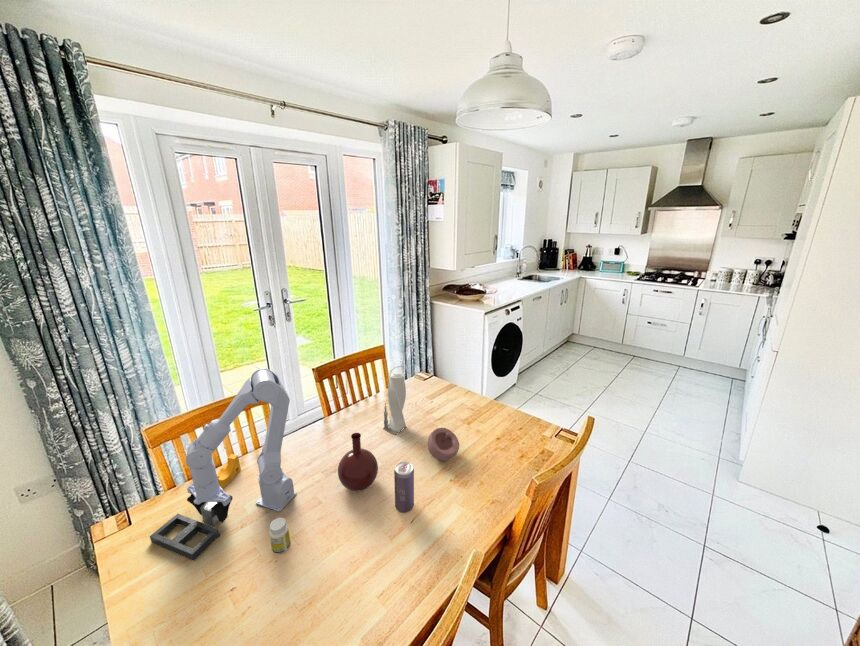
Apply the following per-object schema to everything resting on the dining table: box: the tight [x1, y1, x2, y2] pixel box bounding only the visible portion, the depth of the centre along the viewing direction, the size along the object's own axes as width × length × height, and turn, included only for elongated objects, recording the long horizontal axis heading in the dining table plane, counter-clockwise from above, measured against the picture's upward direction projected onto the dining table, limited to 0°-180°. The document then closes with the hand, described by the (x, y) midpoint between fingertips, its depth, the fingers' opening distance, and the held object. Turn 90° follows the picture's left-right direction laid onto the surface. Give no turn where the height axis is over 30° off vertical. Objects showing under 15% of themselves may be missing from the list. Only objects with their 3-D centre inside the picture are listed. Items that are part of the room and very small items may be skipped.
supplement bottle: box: [269, 517, 292, 555], centre depth 94 cm, size 5×5×8 cm
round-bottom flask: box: [337, 432, 379, 492], centre depth 114 cm, size 13×13×20 cm
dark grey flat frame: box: [149, 513, 221, 562], centre depth 97 cm, size 16×8×2 cm, turn 71°
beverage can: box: [393, 461, 415, 514], centre depth 107 cm, size 6×6×15 cm
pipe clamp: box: [216, 453, 242, 490], centre depth 117 cm, size 12×4×6 cm, turn 171°
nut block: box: [200, 502, 221, 528], centre depth 103 cm, size 4×4×6 cm
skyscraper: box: [382, 365, 407, 436], centre depth 144 cm, size 8×8×28 cm
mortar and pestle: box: [426, 427, 460, 462], centre depth 129 cm, size 12×12×11 cm
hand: (214, 516), depth 103 cm, fingers open, 7 cm apart
